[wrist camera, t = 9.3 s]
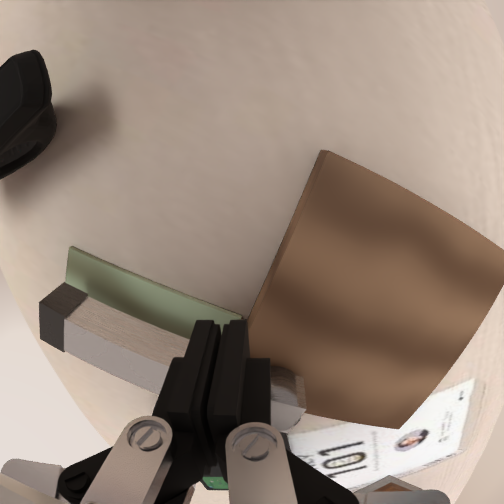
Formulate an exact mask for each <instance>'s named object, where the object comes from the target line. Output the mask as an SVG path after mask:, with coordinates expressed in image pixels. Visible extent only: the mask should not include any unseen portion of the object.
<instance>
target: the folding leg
mask: <svg viewBox="0 0 504 504" xmlns="http://www.w3.org/2000/svg"><path fill="white" fill-rule="evenodd" d="M39 322H40V339H41V340H43V341H45V342H46V343H48V344H50V345H52V346H53V347H55V348H57V349H59V350H61V351H62V352H65V351H66V352H68V353H70V354H72V355H74V356H76V357H78V358H79V359H81V360H83V361H85V362H87V363H89V364H91V365H93V366H95V367H97V368H99V369H101V370H104V371H106V372H108V373H110V374H112V375H114V376H116V377H119V378H121V379H123V380H125V381H128V382H130V383H132V384H135V385H137V386H139V387H142V388H144V389H146V390H149V391H151V392H154V393H156V394H160V391H161V389H162V386H163V383H164V380H165V377H166V375H167V372H168V369H169V366H170V364H171V361H172V359H173V358H174V357H184V355H185V352H186V349H187V346H188V343H189V339H186V338H184V337H181V336H179V335H176V334H174V333H171V332H168V331H166V330H163V329H161V328H158V327H156V326H154V325H151V324H149V323H146V322H144V321H142V320H139V319H137V318H135V317H132V316H130V315H128V314H125V313H123V312H121V311H119V310H116V309H114V308H112V307H110V306H108V305H105V304H103V303H101V302H99V301H97V300H95V299H93V298H90V297H88V293H86V292H83V291H81V290H79V289H77V288H75V287H73V286H71V285H69V284H67V283H65V282H64V283H63V284H61V285H60V286H59V287H57V288H56V289H55V290H54V291H52V292H51V293H50V294H49V295H47V296H46V297H45V298H44V299H43V300H41V301H40V302H39ZM306 409H307V408H306V398H305V388H304V379H303V376H299V375H295V373H293V372H292V371H291V370H289V369H287V368H284V367H279V366H271V426H272V427H274V428H276V429H277V430H278V431H279V432H284V433H289V431H290V430H291V429H292V428H293V427H294V426H295V425H296V424H297V423H298V422H299V421H300V419H301V416H302V415H303V413H304V412H305V411H306Z"/></svg>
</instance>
